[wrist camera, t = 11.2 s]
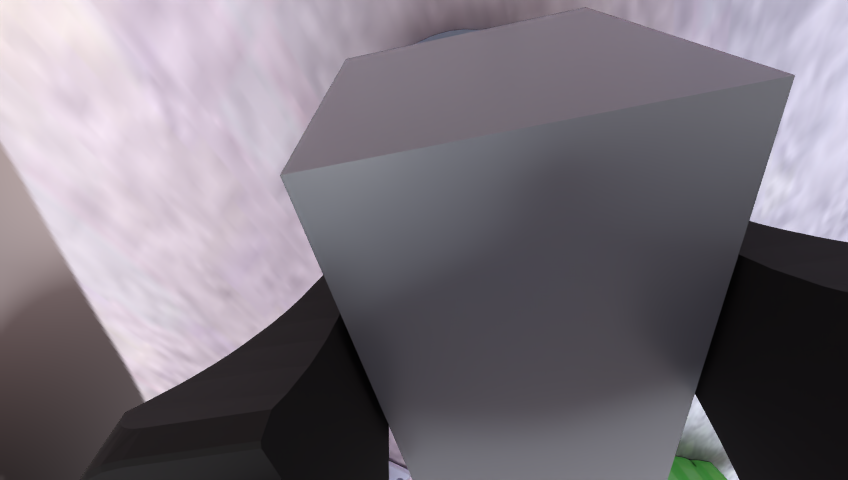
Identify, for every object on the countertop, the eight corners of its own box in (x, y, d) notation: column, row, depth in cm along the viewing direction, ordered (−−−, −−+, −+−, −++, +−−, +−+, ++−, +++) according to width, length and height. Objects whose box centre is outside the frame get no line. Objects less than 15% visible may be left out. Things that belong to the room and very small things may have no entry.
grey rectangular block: (576, 313, 16) (661, 498, 11) (424, 336, 17) (432, 525, 11) (585, 7, 10) (795, 75, 5) (346, 59, 10) (280, 174, 5)
